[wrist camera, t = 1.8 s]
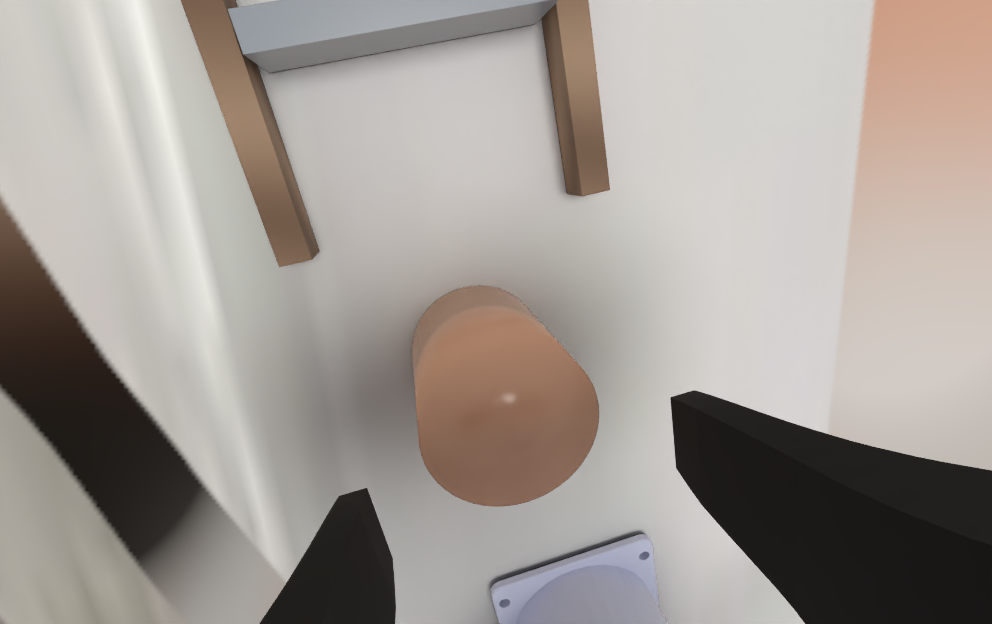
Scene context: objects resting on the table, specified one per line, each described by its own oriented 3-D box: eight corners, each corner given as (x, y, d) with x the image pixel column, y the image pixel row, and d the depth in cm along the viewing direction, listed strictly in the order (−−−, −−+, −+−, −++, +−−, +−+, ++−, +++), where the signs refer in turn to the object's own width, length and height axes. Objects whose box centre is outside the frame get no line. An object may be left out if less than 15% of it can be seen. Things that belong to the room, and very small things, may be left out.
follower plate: (535, 24, 15) (560, -2, 13) (269, 73, 14) (243, 54, 12) (530, -12, 15) (554, -46, 12) (256, 35, 14) (227, 8, 11)
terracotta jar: (547, 385, 19) (608, 476, 14) (429, 419, 19) (443, 528, 13) (526, 271, 18) (586, 320, 12) (396, 304, 17) (396, 372, 12)
